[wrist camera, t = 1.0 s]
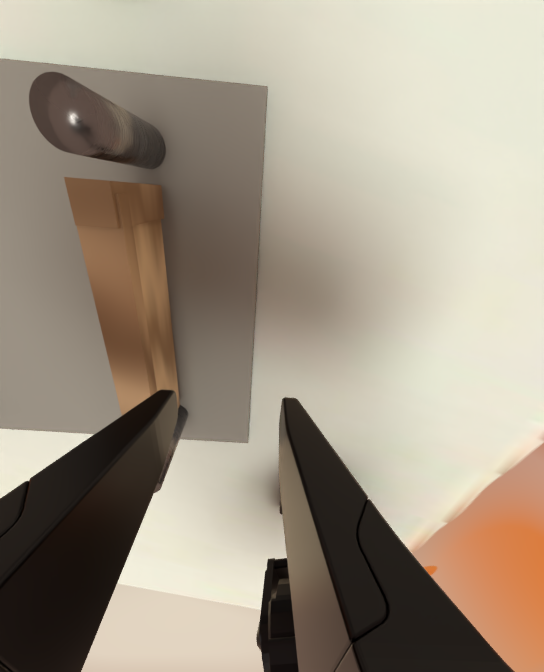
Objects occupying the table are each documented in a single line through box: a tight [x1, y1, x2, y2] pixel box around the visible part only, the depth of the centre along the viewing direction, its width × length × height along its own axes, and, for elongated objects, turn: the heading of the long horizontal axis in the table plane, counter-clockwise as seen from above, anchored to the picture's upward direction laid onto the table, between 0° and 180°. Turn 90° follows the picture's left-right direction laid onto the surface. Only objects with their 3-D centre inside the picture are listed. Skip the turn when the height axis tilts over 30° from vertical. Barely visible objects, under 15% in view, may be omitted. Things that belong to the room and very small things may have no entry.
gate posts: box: [29, 72, 188, 493], centre depth 15 cm, size 20×18×6 cm
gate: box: [64, 177, 180, 415], centre depth 15 cm, size 15×2×5 cm, turn 175°
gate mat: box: [0, 59, 267, 443], centre depth 18 cm, size 24×22×1 cm
